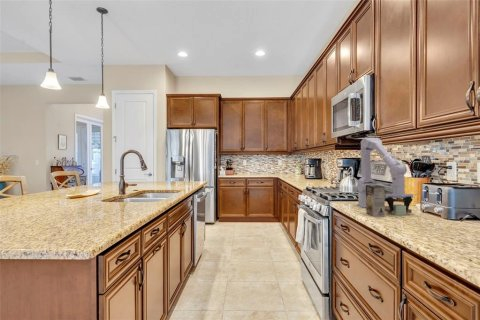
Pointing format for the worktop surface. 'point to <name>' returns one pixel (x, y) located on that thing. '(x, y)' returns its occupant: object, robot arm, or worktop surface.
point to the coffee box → (375, 200)
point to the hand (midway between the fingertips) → (398, 210)
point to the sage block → (399, 209)
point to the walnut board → (391, 211)
